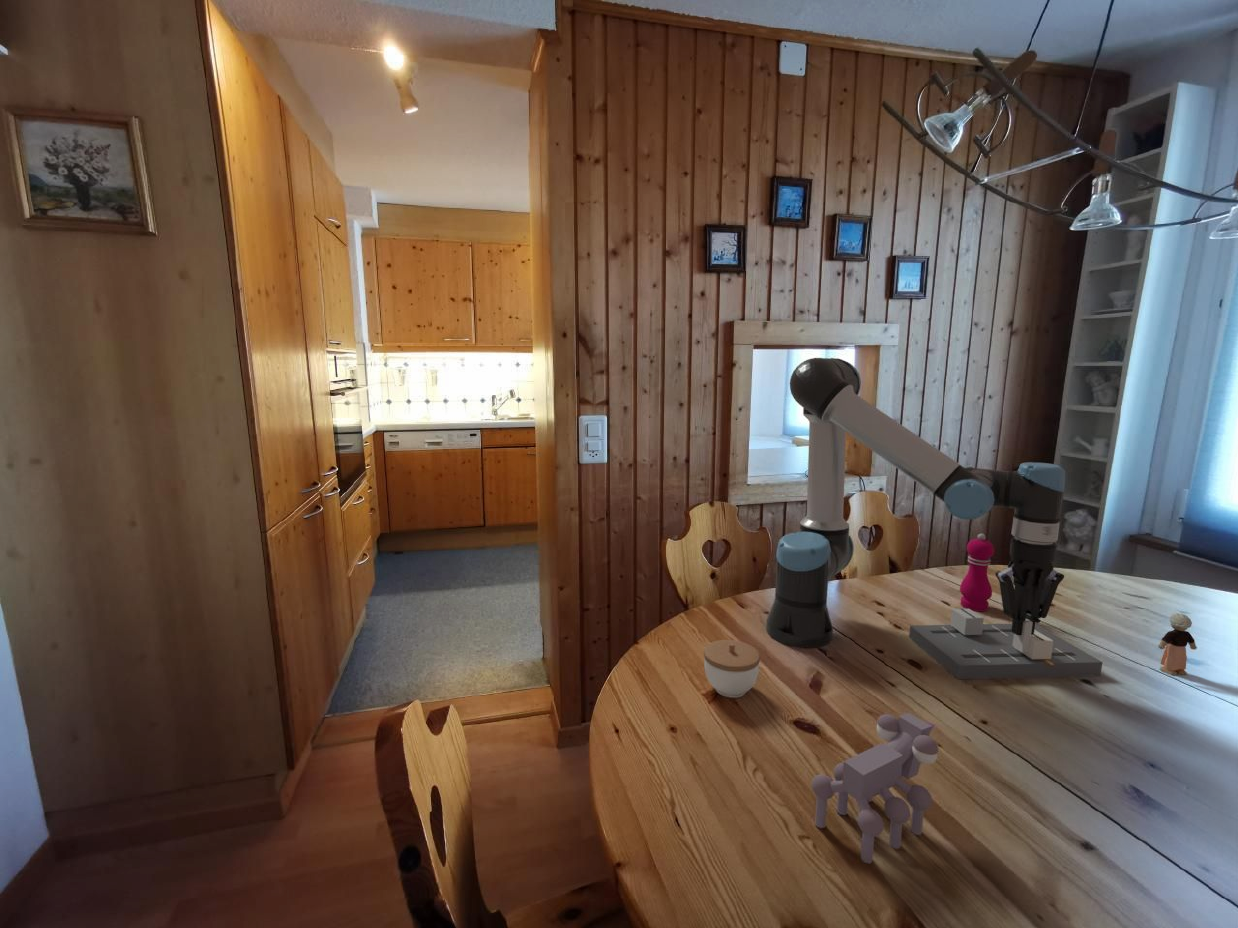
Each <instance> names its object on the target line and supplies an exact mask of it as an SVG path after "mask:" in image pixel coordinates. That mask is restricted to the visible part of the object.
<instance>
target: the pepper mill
mask: <svg viewBox="0 0 1238 928" xmlns="http://www.w3.org/2000/svg"><path fill="white" fill-rule="evenodd" d="M966 551H967V553H968V556H967V558H968V559H967V562H968V564H969V565H968V566H969V567H968V570H967V573H966V575H965V576H964V578H963V579H962V581H961V583H960V586H959V592H960V594H961V595H962V596H961V597H960V605H961V606H962V607H963V608H964V609H970V610H972V611H974V612H985V611H988V610H989V604H990V603H989V601H988V600H990V599H991V598H992V596H993V588H992V586H991V583H990V581H989V580H990V579H989V578H988V568H989V566H990V565H991V561H992V560H991V557H993V555H994V553H995V549H994V545H993V543H991V542H990V541H989V540H986V535H985V534H984V533H979V534H977V538H974V539H971V540H970V541H969V542H968V543H967V546H966Z"/></svg>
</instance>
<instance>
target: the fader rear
mask: <svg viewBox="0 0 1238 928" xmlns="http://www.w3.org/2000/svg"><path fill="white" fill-rule="evenodd" d="M983 624H984V617H983V616H982V615H980V614H978V613H977V612H976V611H974V610H970V609H967V608H952V609H951V617H950V625H951V626H952V627H954V628H955V629H957V630H958V631H959V632H961V633H962V634H964V635H982V629H983Z"/></svg>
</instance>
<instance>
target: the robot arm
mask: <svg viewBox="0 0 1238 928" xmlns="http://www.w3.org/2000/svg"><path fill="white" fill-rule="evenodd" d="M861 386H862V380H861V376H860V373H859V371H858V370H857V368H856V367H855V366H854V365H853V364H852V363H850V362H849V361H846V360H844V359H843V358H842V359H841V358H837V357H835V358H834V357H829V358H826V357H825V358H823V357H813V358H808V359H806V360H804V361H802V362H801V363H799V364H798V365H797V366H796V367H795V369H794V370H793V372H792V374H791V376H790V380H789V389H790V394H791V396H792V398H793V399H794V400H795V402H796V403H797V404H798V405H799V406H801V407H802V411H803V412H802V415H803V416H804V417H805V418H806V419H807V421H808V422H809V425H808V427H809V428H808V433H809V434H808V458H807V459H808V463H807V495H806V498H807V499H806V514H805V515H806V516H805V517H803V518H802V519H801V520H800V522H799V531H796V532H789V533H787V534H785V535H784V536H782V537H781V538H780V539H779V540H778V543H777V549H776V555H775V557H776V563H775V564H776V569H775V572H776V573H775V592H774V594H775V595H774V600H773V603H772V606H771V608H770V610H769V612H768V615H767V618H766V621H765V622H766V625H765V626H766V627H765V628H766V629H765V630H766V632H767V635H769V636H770V637H771V638H773V639H774V640H776V641H777V642H780V643H783V644H786V645H789V646H793V647H799V648H819V647H824V646H826V645H828V644H830V643H831V642H832V641H833V636H834V635H833V634H834V626H833V623H832V620H831V617H830V612H829V609H828V606H827V605H828V604H827V602H828V601H827V600H828V590H829V589H828V588H829V587H828V585H829V581H830V580H831V579H832V578H833V577H835V576H836V575H838V574H839V573H841V572H842V571H843V570H844V569H846V568H847V566H848V565H849V564H850V563H851V560H852V558H853V555H854V552H855V549H854V542H853V538H852V537H851V535H850V524H849V523H848V521H847V520H846V519H844V506H845V505H844V504H845V502H844V501H845V497H844V496H845V478H846V477H845V476H846V475H845V474H846V453H847V452H846V451H847V434H848V435H850V436H851V437H853V439H855V440H857V441H858V442H859V443H861V444H862V445H863V446H865V447H866V448H868V449H869V450H871V451H872V452H874V453H875V454H876V455H878V456H879V457H880V458H882V459H884V460H885V461H886V462H887V463H889V464H890V465H892V466H893V467H895V468H896V469H897V470H899V471H900V472H901V473H903V474H904V475H906V476H907V477H909V479H911V480H913V481H914V482H916V483H917V484H918V485H920V486H921V487H923V488H924V489H925V490H927V491H928V492H929V493H931V494H933V496H935V497H936V498H938V499H939V500H940V501H942V502H943V503H944V506H945V508H946V509H947V511H948V512H949V513H950V514H951V515H952V516H954V517H955V518H958V519H961V520H967V521H969V520H975V519H979V518H981V517H982V516H984V515H985V514H988V513H989V512H990V511H991V510H992V509H993V507H999V508H1000V507H1001V508H1008V509H1009V508H1010V509H1014V512H1013V517H1012V525H1011V533H1010V534H1011V535H1012V537H1011V539H1010V544H1009V556H1010V561H1009V563H1008V564H1007V568H1005V570H1002V571H1001V570H997V571H996V572H995V576H996V578H997V580H998V581H999V589H1000V596H1001V603H1002V611H1003V613H1004V614H1005V615H1006V616H1008V617H1009V618H1011V619H1012V622H1011V624H1012V632H1013V633H1014V637H1013V646H1014V647H1015V648H1017V649H1018V650H1020V651H1021V652H1029V648H1030V640H1031V635H1033V634H1034V630H1035V624H1040V622H1041V618H1042V619H1045V618H1047V616H1048V613H1049V611H1050V608H1051V606H1052V603H1053V600H1054V597H1055V595H1056V591H1057V589H1058V586H1059V585H1060V584H1061V583H1062V581H1063V580H1064V578H1065V575H1064V574H1063V573H1060V572H1058V571H1057V570H1055V569H1054V565H1053V563H1054V562H1055V561H1056V557H1057V549H1058V548H1057V545H1058V544H1056V542H1058V540H1059V539H1058V538H1059V531H1060V525H1061V515H1062V508H1063V503H1064V501H1063V500H1064V496H1065V484H1066V470H1065V469H1064V468H1063V467H1062V466H1061V465H1058V464H1054V463H1046V462H1031V461H1030V462H1028V461H1027V462H1022V463H1020V464H1019V468H1018V469H1017V471H1015V470H1013V471H1008V470H997V469H988V468H987V469H986V468H980V467H979V468H977V467H972V466H967V467H965V466H962V465H961V464H960V463H959V462H957V461H955V460H954V459H953V458H951V457H950V456H948V455H947V454H945V453H943V452H942V451H941V450H939V449H938V448H936V447H935V446H934V445H932V444H930V443H929V442H928V441H926V440H925V439H923V438H922V437H920V436H919V435H917V434H916V433H914V432H913V431H911V430H910V429H908V428H907V427H906V426H904V425H902V424H901V423H899V422H898V421H897V420H895V419H894V418H892V417H891V416H889V415H888V414H886V413H884V412H883V411H882V410H881V409H879V408H877V407H876V406H874V405H873V404H871V403H870V402H868V401H867V400H865V399H864V398H863V397H861V396H859V393H860V390H861V388H862V387H861Z"/></svg>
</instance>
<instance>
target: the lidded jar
mask: <svg viewBox="0 0 1238 928" xmlns="http://www.w3.org/2000/svg"><path fill="white" fill-rule="evenodd" d="M703 658H704V660H703V662H704V665H703V666H704V671H705V676H706V678H707V681H708V683H709V684H710V685H711V687H712V688H713V689H714V690H715V691H716V693H717V694H718V695H721V696H723V697H726V698H733V699H734V698H741V697H743V696H745V695H746V693H747V692H749V691H750V690H751V689H752V688H753V687H754V685H755V683H756V682H757V678H758V676H759V669H760V661H761V655H760V651H758V649H756V647H754V646H753V645H751V644H748V643H747V642H743V641H739V640H735V639H720V640H715V641H712V642H710V643H708V644H706V646H705V648H704V649H703Z"/></svg>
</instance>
